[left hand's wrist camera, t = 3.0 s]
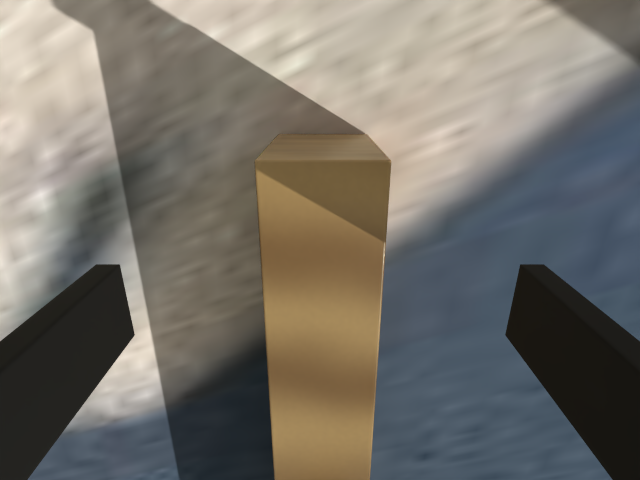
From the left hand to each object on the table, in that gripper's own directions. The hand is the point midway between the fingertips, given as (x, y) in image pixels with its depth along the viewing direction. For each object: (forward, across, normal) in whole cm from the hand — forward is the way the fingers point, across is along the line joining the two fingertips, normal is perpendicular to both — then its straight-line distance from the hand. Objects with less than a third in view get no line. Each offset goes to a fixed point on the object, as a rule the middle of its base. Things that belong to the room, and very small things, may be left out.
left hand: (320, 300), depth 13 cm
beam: (+11, 0, -26) cm, 28 cm away
